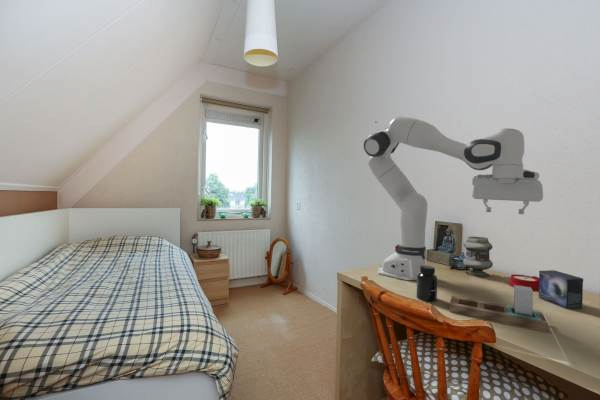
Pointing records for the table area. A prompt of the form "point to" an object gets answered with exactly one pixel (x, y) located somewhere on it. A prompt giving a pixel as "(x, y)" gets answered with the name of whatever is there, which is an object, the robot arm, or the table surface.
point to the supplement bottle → (427, 284)
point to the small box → (561, 289)
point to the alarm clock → (525, 281)
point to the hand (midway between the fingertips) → (504, 213)
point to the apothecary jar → (477, 256)
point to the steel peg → (523, 300)
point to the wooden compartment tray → (497, 313)
